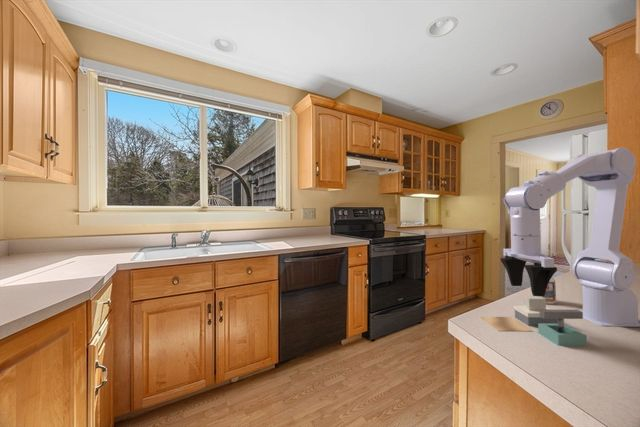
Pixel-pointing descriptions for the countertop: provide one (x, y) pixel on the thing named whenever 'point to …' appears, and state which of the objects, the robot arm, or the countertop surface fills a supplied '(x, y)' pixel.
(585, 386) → the countertop surface
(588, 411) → the countertop surface
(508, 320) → the cork mat
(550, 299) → the pill bottle
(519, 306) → the cover
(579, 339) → the key socket
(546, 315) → the t key
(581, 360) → the countertop surface
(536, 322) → the box
